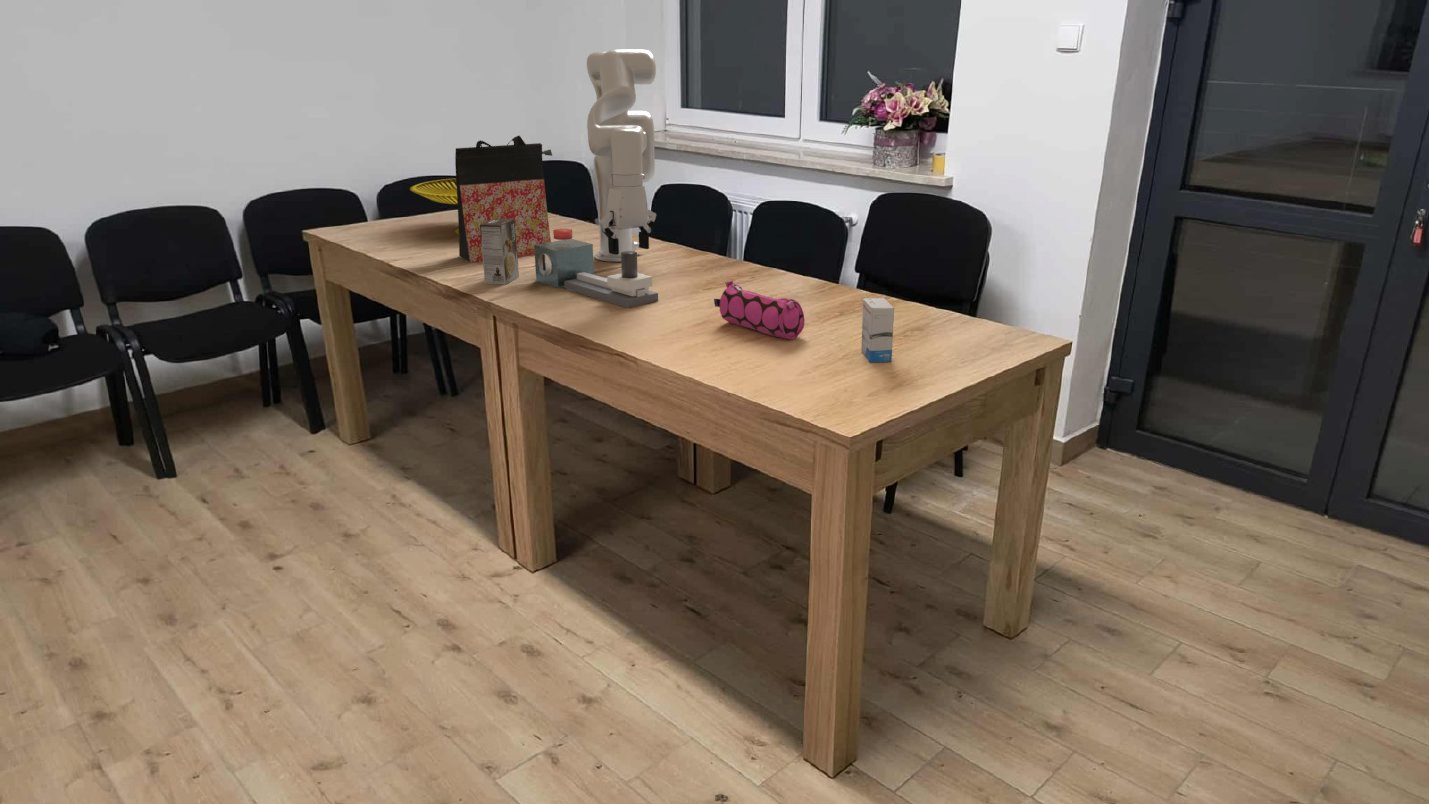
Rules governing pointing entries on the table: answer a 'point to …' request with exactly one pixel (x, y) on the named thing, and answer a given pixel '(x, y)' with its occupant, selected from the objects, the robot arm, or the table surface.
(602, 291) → the rail bed
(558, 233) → the button
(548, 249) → the cabinet
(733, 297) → the pencil case
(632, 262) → the carriage
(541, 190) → the gift bag
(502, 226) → the coffee box
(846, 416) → the table surface
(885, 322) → the ink box
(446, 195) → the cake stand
